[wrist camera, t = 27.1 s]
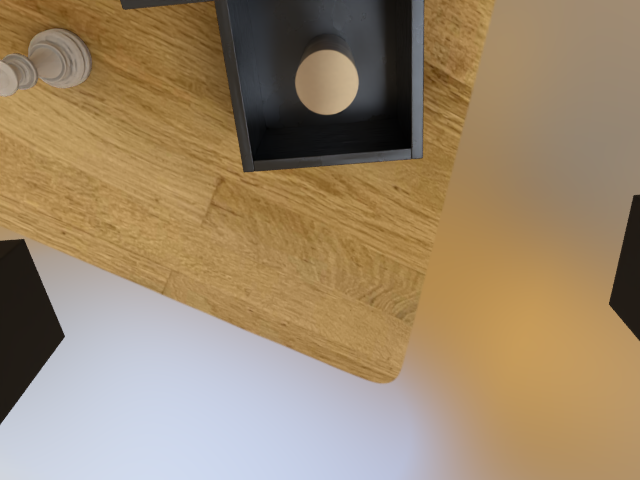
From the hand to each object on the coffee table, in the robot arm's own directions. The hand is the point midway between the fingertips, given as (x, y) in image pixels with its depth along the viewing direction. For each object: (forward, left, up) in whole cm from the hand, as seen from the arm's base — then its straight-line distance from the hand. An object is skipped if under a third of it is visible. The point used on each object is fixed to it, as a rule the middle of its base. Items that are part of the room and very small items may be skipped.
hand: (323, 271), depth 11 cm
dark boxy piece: (0, -1, -32) cm, 32 cm away
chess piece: (+21, -2, -32) cm, 39 cm away
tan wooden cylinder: (0, 0, -32) cm, 32 cm away
